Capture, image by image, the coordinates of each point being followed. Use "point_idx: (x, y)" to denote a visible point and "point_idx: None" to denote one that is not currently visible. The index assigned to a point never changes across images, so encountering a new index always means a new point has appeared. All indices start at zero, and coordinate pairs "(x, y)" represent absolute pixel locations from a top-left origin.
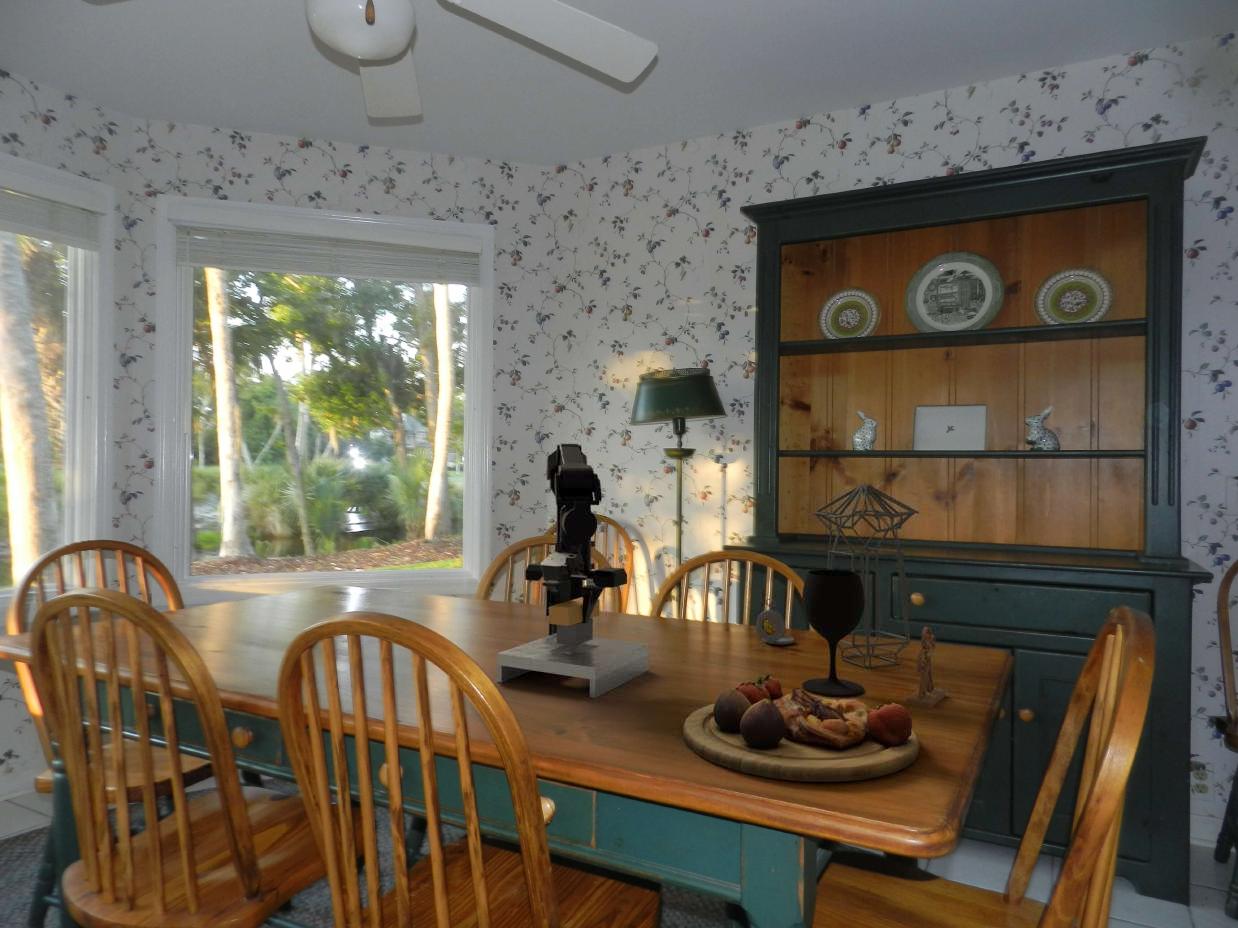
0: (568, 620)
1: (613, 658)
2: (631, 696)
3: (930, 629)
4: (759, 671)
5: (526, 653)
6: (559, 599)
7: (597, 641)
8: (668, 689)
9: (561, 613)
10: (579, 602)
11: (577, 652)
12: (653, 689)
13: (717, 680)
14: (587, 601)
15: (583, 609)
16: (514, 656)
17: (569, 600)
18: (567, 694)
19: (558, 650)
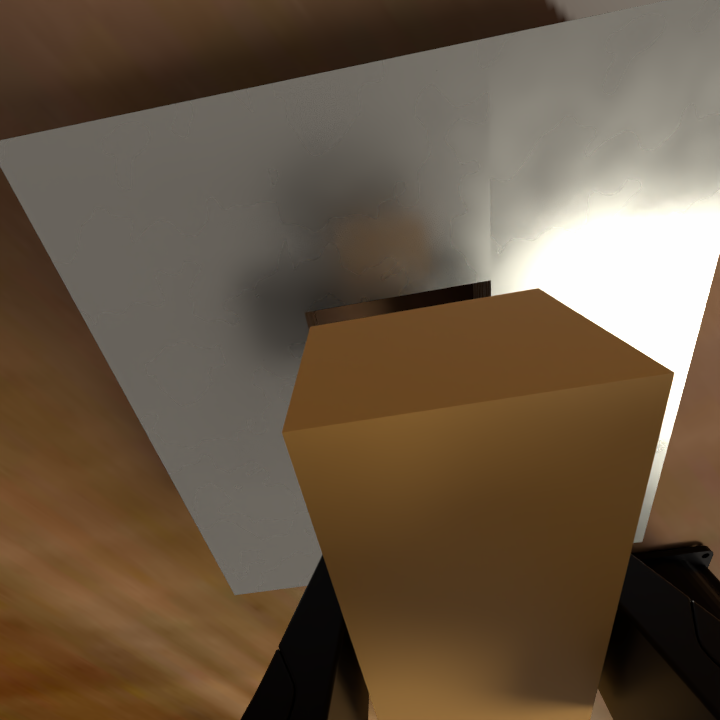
0: (306, 352)
1: (123, 370)
2: (40, 272)
3: None
4: (63, 632)
5: (580, 137)
6: (685, 655)
7: None
8: (47, 410)
9: (404, 366)
10: (454, 694)
11: None
12: (75, 383)
13: (51, 542)
14: (257, 715)
15: (337, 604)
16: (623, 12)
17: (605, 701)
18: None
19: None
